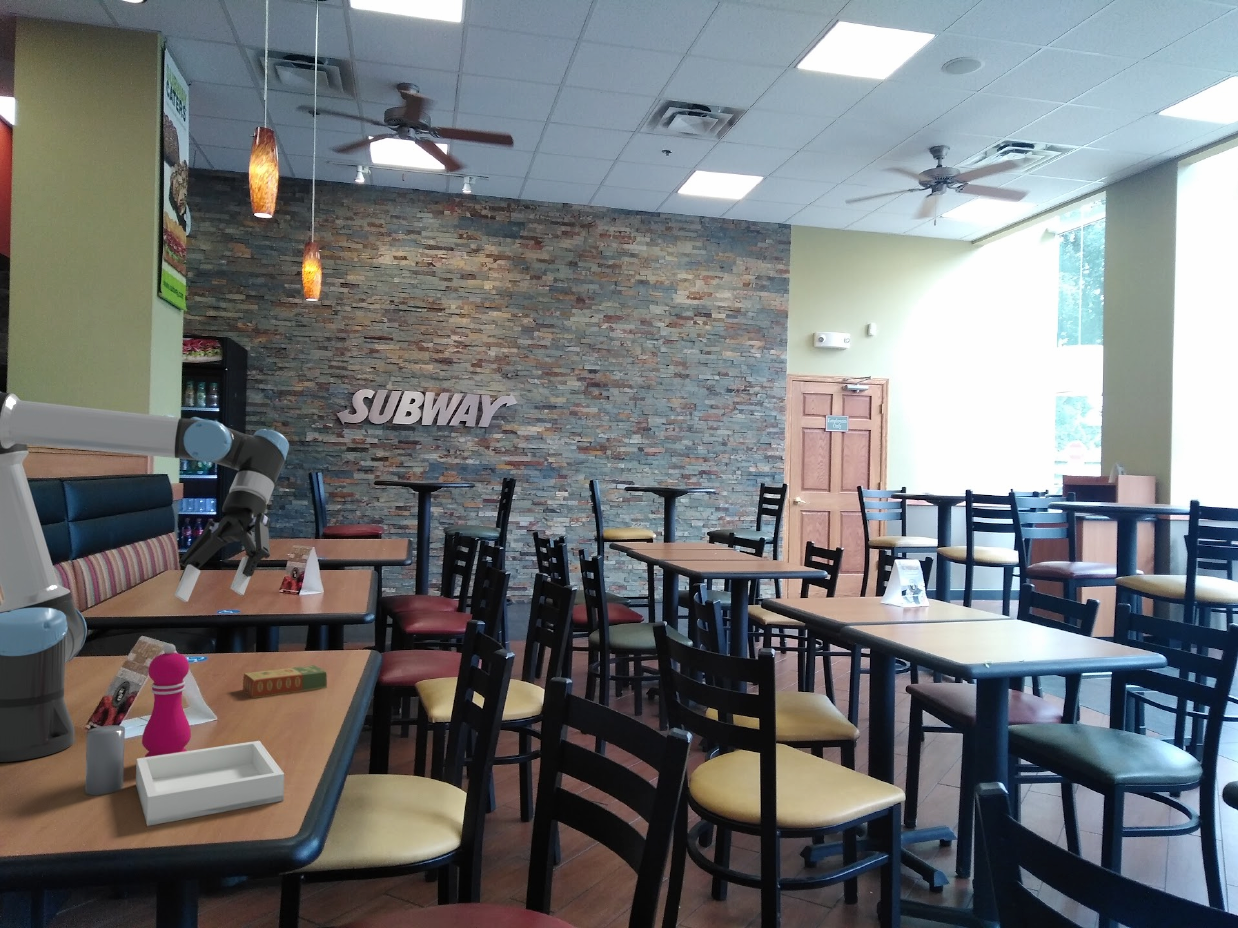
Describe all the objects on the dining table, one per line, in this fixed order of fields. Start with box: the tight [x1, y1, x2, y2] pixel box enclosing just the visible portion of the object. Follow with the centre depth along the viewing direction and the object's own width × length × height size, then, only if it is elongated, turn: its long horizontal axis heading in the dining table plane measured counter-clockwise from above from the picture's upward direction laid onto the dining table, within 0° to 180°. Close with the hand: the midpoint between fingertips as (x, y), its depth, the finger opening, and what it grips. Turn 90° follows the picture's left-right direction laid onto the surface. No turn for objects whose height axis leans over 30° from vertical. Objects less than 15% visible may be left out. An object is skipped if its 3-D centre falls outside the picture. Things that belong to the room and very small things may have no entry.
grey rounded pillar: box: [84, 724, 126, 796], centre depth 130 cm, size 5×5×9 cm
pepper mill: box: [141, 643, 192, 757], centre depth 141 cm, size 7×7×20 cm
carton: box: [242, 665, 328, 699], centre depth 190 cm, size 8×16×4 cm, turn 128°
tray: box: [135, 740, 285, 827], centre depth 130 cm, size 18×18×4 cm
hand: (208, 595), depth 155 cm, fingers open, 13 cm apart
